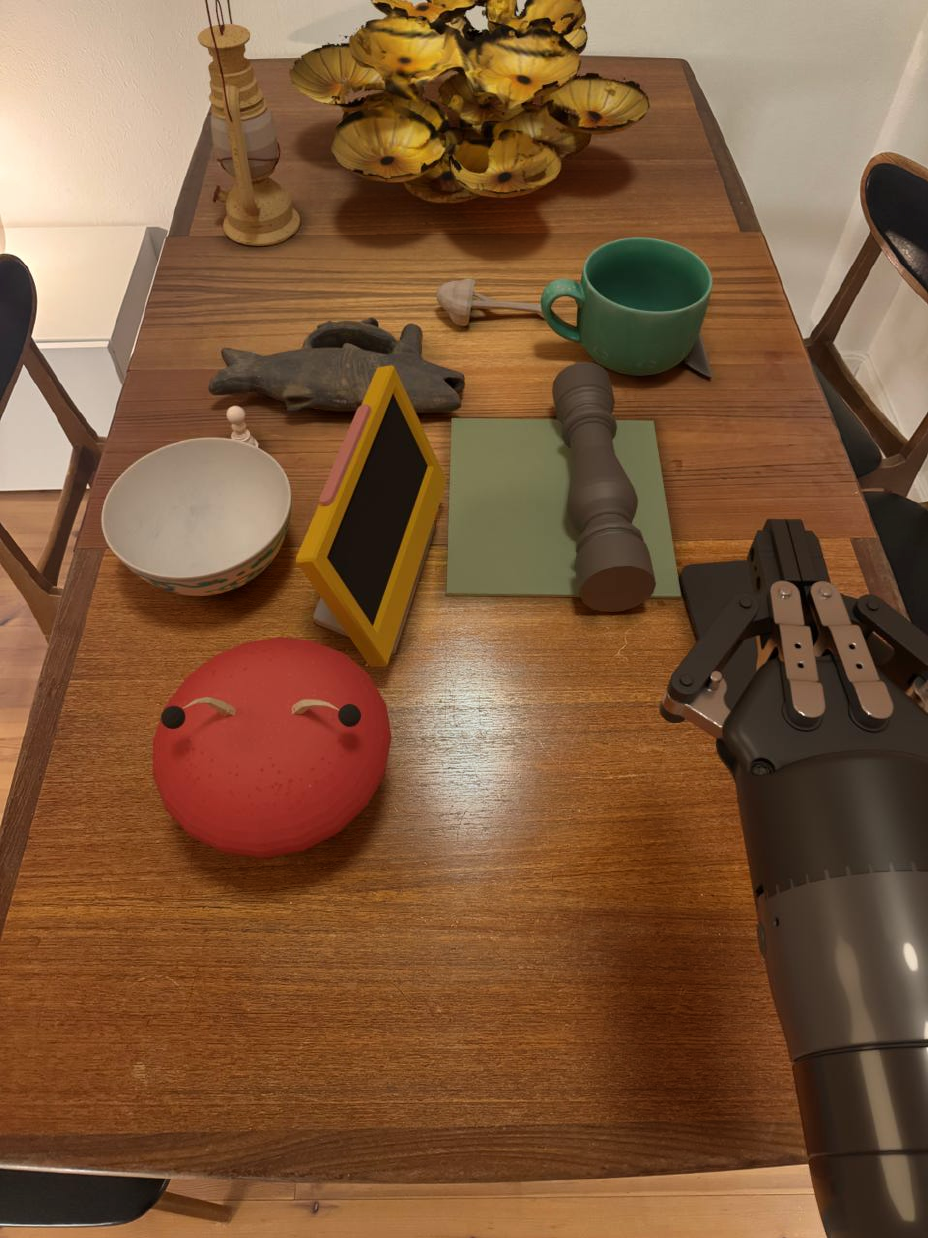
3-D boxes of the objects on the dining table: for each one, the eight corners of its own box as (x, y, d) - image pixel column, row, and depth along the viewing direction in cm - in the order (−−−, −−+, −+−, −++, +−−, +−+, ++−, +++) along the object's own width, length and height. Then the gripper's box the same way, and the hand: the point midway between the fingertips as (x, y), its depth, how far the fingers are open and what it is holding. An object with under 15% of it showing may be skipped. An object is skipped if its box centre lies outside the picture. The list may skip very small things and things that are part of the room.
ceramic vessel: (459, 396, 81) (474, 312, 91) (195, 371, 82) (238, 291, 92) (457, 440, 85) (472, 355, 95) (205, 416, 86) (246, 334, 96)
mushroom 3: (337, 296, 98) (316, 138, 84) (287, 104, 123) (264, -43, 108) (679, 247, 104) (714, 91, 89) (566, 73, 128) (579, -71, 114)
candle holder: (668, 569, 69) (621, 364, 83) (592, 562, 68) (559, 355, 82) (640, 614, 74) (601, 413, 88) (569, 608, 72) (541, 406, 87)
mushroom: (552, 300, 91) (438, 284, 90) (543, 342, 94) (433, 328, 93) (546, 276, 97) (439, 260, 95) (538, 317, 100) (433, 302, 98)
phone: (722, 719, 67) (677, 564, 75) (720, 724, 68) (675, 570, 76) (816, 711, 67) (761, 558, 76) (813, 716, 68) (758, 564, 76)
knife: (665, 297, 98) (666, 291, 97) (700, 296, 98) (702, 291, 97) (684, 380, 90) (686, 375, 89) (723, 380, 90) (725, 374, 90)
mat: (652, 423, 87) (653, 420, 86) (680, 598, 74) (681, 596, 74) (451, 420, 87) (451, 417, 86) (446, 595, 75) (446, 593, 74)
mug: (684, 316, 96) (704, 236, 88) (699, 393, 89) (722, 314, 81) (534, 313, 96) (540, 234, 89) (537, 390, 89) (544, 311, 81)
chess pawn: (223, 448, 84) (210, 409, 80) (246, 433, 86) (235, 394, 81) (241, 463, 83) (230, 424, 79) (264, 447, 84) (254, 408, 80)
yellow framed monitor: (390, 690, 69) (373, 568, 56) (295, 671, 70) (258, 547, 57) (448, 505, 80) (445, 368, 67) (365, 491, 81) (347, 353, 68)
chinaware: (295, 487, 82) (281, 425, 75) (314, 616, 73) (300, 559, 67) (131, 512, 80) (102, 451, 73) (131, 648, 71) (99, 592, 65)
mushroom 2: (167, 898, 60) (91, 816, 48) (198, 697, 69) (141, 583, 56) (397, 890, 60) (381, 806, 48) (398, 691, 69) (385, 577, 57)
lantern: (225, 197, 109) (156, -102, 84) (303, 196, 109) (258, -102, 85) (212, 254, 102) (133, -53, 78) (296, 252, 103) (244, -54, 78)
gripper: (1131, 884, 27) (960, 474, 37) (704, 877, 27) (647, 470, 37) (1007, 945, 33) (888, 581, 43) (659, 940, 33) (620, 577, 43)
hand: (777, 530), depth 40 cm, fingers closed
